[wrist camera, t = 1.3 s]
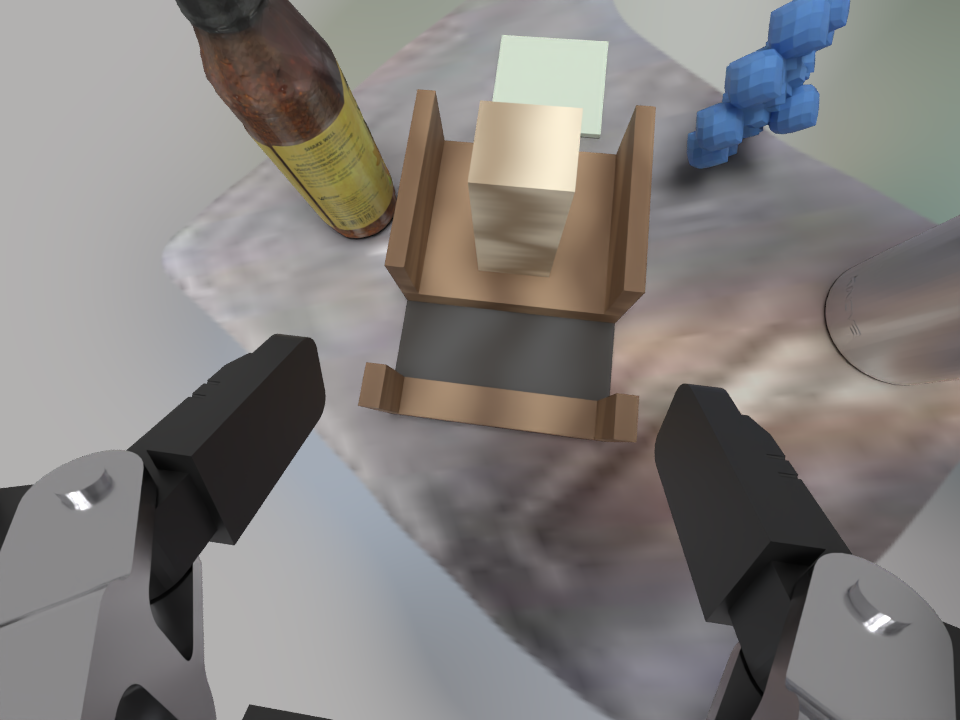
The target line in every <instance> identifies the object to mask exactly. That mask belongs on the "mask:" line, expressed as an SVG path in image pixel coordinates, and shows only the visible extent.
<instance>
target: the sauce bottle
mask: <svg viewBox="0 0 960 720" xmlns="http://www.w3.org/2000/svg"><path fill="white" fill-rule="evenodd" d="M176 2H177V5H178V6H179V8H180V10H181V12H182V13H183V14H184V16H185V17H186V18H187V19H188V20H189V21H190V22H191V24H192V26H193V28H194V31H195V34H196V37H197V39H198V42H199V45H200V55H201V58H202V62H203V67H204V72H205V74H206V77H207V79H208V80H209V81H210V83H211V84H212V85H213V87H214V89H215V91H216V93H217V94H218V95H219V96H220V98H221V99H222V100H223V101H224V102H225V104H226V105H227V106H228V107H229V108H230V109H231V110H232V112H233V113H234V114H235V115H236V117H237V118H238V119H239V120H240V121H241V122H242V123H243V125H244V127H245V129H246V131H247V132H248V134H249V135H250V136H251V137H252V138H253V139H254V141H255V142H256V143H257V144H258V145H259V146H260V148H261V149H262V150H263V151H264V152H265V153H266V155H267V156H268V157H269V158H270V159H271V160H272V162H273V163H274V164H275V165H276V166H277V167H278V169H279V170H280V171H281V172H282V173H283V174H284V176H285V177H286V178H287V179H288V180H289V181H290V182H291V184H292V185H293V186H294V187H295V188H296V189H297V191H298V192H299V193H300V194H301V195H302V196H303V198H304V199H305V200H306V201H307V202H308V203H309V205H310V206H311V207H312V208H313V209H314V210H315V212H316V213H317V214H318V215H319V216H320V217H321V219H322V220H323V221H324V222H326V223H327V224H328V225H329V226H331V227H332V228H333V229H334V230H336V231H337V232H339V233H341V234H342V235H344V236H346V237H350V238H362V237H365V236H371V235H374V234H376V233H378V232H379V231H380V230H382V229H383V228H385V227H386V225H387V224H388V223H389V222H390V221H391V219H392V216H393V215H394V212H395V207H396V196H395V189H394V186H393V183H392V178H391V176H390V173H389V171H388V169H387V167H386V165H385V163H384V161H383V159H382V157H381V154H380V152H379V150H378V148H377V146H376V144H375V142H374V139H373V137H372V135H371V132H370V130H369V128H368V126H367V124H366V122H365V120H364V119H363V116H362V114H361V111H360V109H359V107H358V105H357V103H356V100H355V99H354V97H353V95H352V93H351V90H350V88H349V86H348V84H347V81H346V79H345V77H344V75H343V73H342V71H341V69H340V67H339V65H338V63H337V61H336V58H335V57H334V54H333V52H332V50H331V49H330V47H329V46H328V44H327V43H326V41H325V40H324V39H323V38H322V37H321V36H320V35H319V34H318V32H317V31H316V30H315V29H314V28H313V27H312V26H311V25H310V24H309V23H308V21H306V19H305V18H304V17H303V16H302V15H301V14H300V13H299V12H298V10H297V9H296V8H295V7H294V6H293V5H292V4H291V3H290V2H289V1H288V0H176Z"/></svg>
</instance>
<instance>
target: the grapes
mask: <svg viewBox="0 0 960 720" xmlns="http://www.w3.org/2000/svg"><path fill="white" fill-rule="evenodd" d="M849 7H850V0H793V1H792V2H789V3H787V4H785V5H783V6H782V7H780V8H778V9H776V10H774V11H772V12H771V17H770V24H769V32H768V41H767V42H766V46H765V47H763V48H761V49H759V50H757V51H756V52H753V53H751V54H748V55H746V56H744V57H742V58H740V59H738V60H736V61H734V62H732V63H730V65H729V66H728V67H727V68H726V78H725V93H724V94H723V99H722V103H718V104H715V105H713V106H710V107H708V108H705V109H703V110H701V111H698V112H697V119H696V131H694V132H692V133H689V134H688V140H687V156H688V160H689V163H690V165H691V166H693V167H696V168H699V169H702V168H708V167H712V166H716V165H719V164H722V163H725V162H728V156H731V155H734V154H737V149H738V144H739V143H742V138H748V137H752V136H755V135H758V134H759V132H762V131H763V126H765V125H769V128H770V130H771V131H772V132H774V133H775V134H787V133H793V132H796V131H800V130H803V129H806V128H809V127H812V126H815V125H816V121H817V117H818V110H819V93H818V91H817V89H816V88H815V87H814V86H813V85H811V84H810V85H803V83H804V82H805V80H807V79H809V76H810V73H811V72H814V67H815V52H816V51H818V50H820V49H823V48H825V47H827V46H830V45H831V44H832V40H833V35H834V30H836V29H838V28H841V27H843V26H845V25H846V22H847V18H848V13H849Z"/></svg>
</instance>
